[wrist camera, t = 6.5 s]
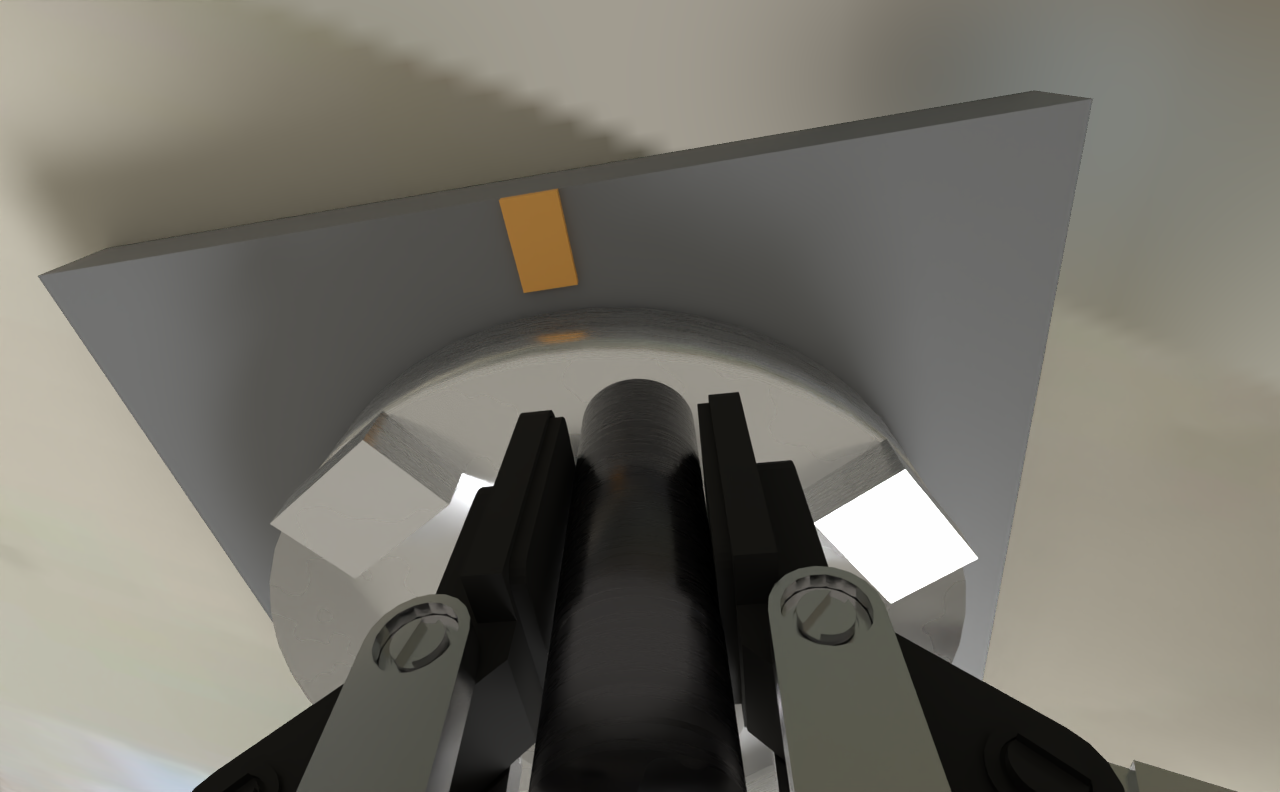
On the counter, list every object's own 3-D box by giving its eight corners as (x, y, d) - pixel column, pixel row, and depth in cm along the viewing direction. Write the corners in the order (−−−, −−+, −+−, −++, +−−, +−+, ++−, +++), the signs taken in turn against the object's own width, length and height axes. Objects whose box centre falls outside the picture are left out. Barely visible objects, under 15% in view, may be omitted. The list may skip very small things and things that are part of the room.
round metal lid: (247, 283, 13) (-392, 687, 5) (1021, 331, 14) (1575, 761, 6) (368, 742, 22) (205, 1169, 14) (843, 759, 22) (962, 1178, 14)
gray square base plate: (1033, 90, 13) (1099, 99, 12) (945, 701, 24) (971, 757, 23) (106, 248, 15) (29, 278, 13) (412, 753, 26) (394, 809, 24)
